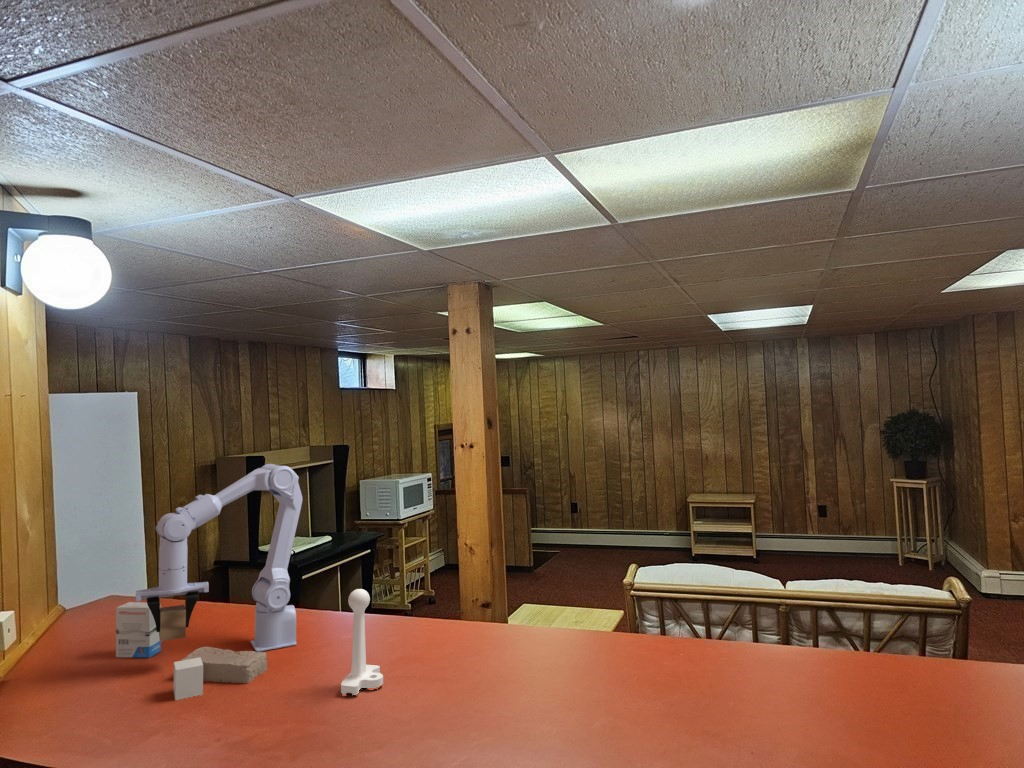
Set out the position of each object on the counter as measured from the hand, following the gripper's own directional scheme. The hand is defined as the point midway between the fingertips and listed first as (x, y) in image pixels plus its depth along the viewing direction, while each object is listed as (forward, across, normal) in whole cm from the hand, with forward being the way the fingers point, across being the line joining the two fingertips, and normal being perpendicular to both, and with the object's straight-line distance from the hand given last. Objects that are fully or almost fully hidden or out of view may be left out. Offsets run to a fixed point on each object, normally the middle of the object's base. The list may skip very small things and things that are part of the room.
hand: (172, 628), depth 147 cm
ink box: (+9, +6, -14) cm, 18 cm away
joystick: (+9, -34, +32) cm, 48 cm away
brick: (+9, -10, +10) cm, 17 cm away
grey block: (+9, -2, +16) cm, 19 cm away
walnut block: (+2, 0, 0) cm, 2 cm away
